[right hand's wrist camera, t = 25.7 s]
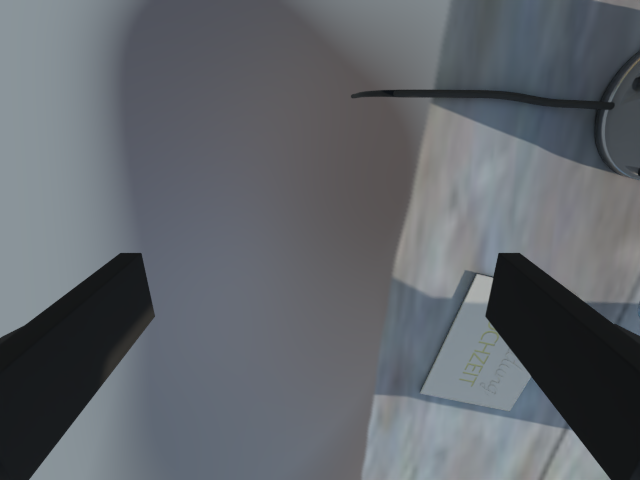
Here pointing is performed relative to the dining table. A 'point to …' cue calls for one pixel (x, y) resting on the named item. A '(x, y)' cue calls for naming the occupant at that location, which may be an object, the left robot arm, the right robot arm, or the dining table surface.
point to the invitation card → (476, 358)
